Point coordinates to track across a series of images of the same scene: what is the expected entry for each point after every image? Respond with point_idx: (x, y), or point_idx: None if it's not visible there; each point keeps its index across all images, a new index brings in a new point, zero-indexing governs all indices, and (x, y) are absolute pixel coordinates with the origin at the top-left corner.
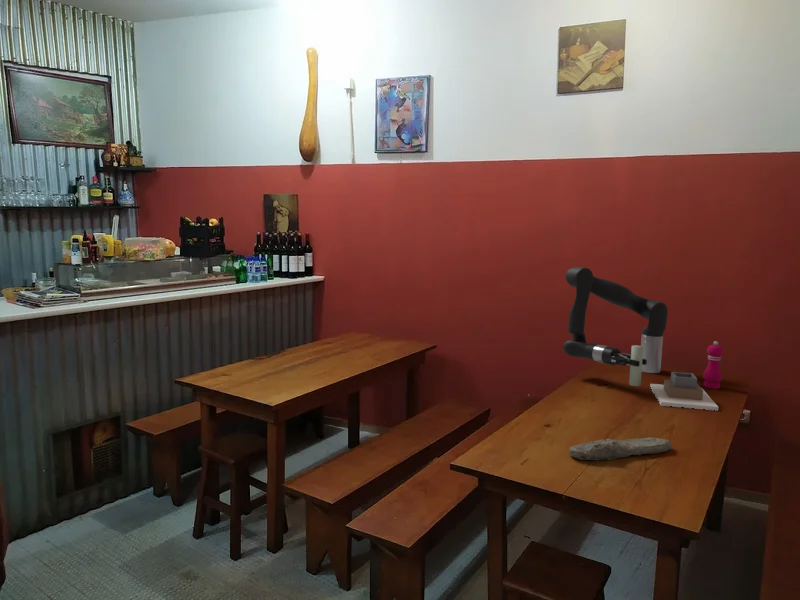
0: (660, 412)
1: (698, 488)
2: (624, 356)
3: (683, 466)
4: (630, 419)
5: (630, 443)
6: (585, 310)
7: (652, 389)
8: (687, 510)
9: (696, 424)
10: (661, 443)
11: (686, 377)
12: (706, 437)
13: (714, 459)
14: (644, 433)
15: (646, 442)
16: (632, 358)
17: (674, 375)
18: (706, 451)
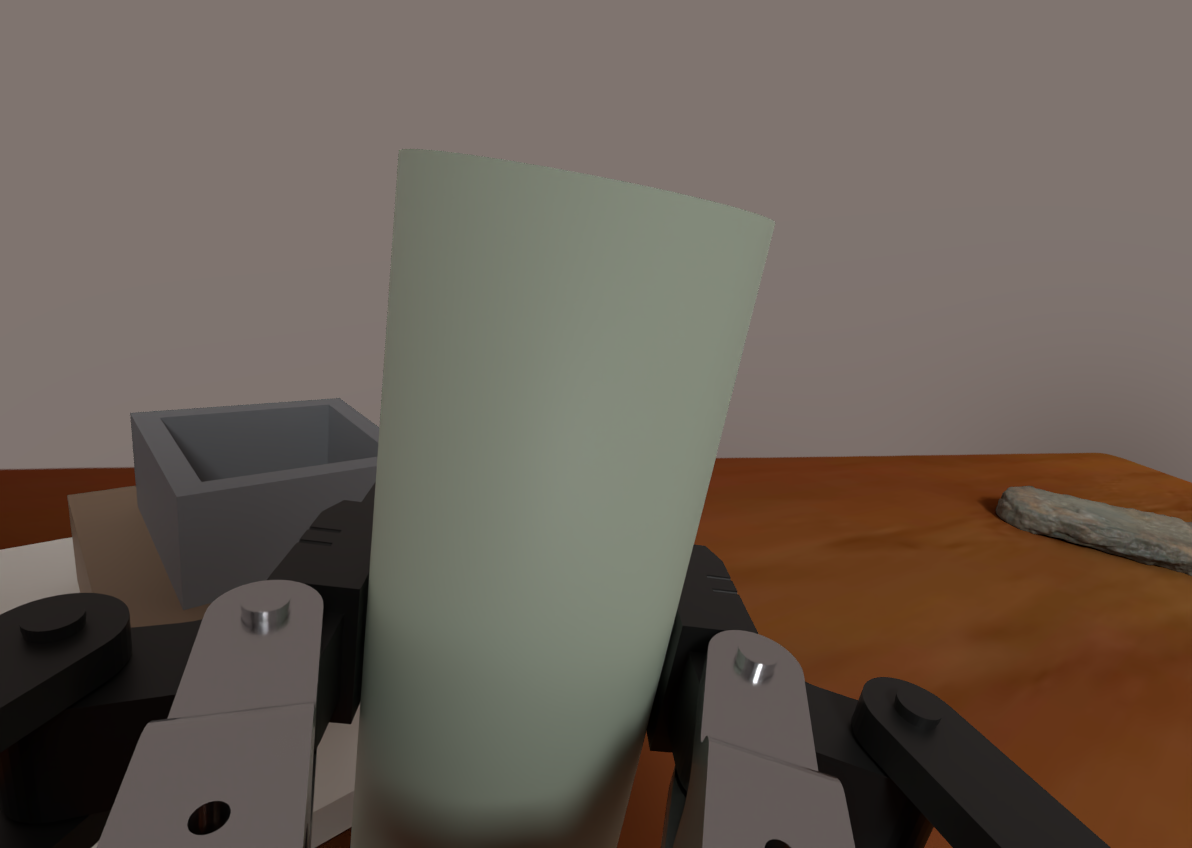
0: (763, 619)
1: (1029, 460)
2: (794, 805)
3: (1011, 482)
4: (1050, 664)
5: (1180, 531)
6: None
7: None
8: (1095, 460)
9: (719, 508)
10: (1048, 495)
11: (363, 425)
12: (794, 480)
13: (892, 459)
14: (1039, 575)
15: (1105, 514)
16: (682, 578)
17: (364, 465)
18: (879, 470)
